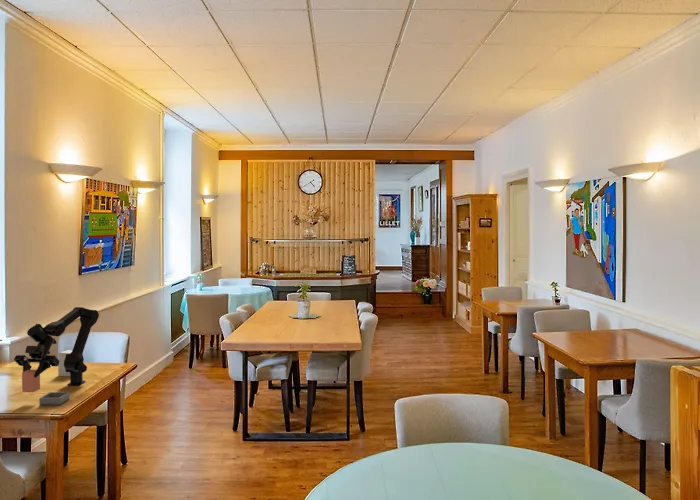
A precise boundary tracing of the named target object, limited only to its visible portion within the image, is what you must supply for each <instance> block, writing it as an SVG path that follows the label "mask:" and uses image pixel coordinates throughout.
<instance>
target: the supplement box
mask: <svg viewBox="0 0 700 500" xmlns="http://www.w3.org/2000/svg"><path fill="white" fill-rule="evenodd" d="M72 350H73V349H67V350H64V351H60V352H57V359H58V360H59V365H58V366H57V369H58V370H57V371H58V373H57V374H58V375H57V376H61V377H70V372H66V370H65V367H64V360H65V357H66V355H67V354H70V353H71V352H72Z"/></svg>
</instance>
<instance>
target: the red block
mask: <svg viewBox="0 0 700 500" xmlns="http://www.w3.org/2000/svg"><path fill="white" fill-rule="evenodd" d="M36 370H37V369H30V370H27V371H24V372H23V371H22V372H21V388H22V390H21V391H22V393H35V392H37V391H38V390H41V376H40V375H41V374H40V375H38V376H37V377H36V378H35V377H34V375H35V372H36Z"/></svg>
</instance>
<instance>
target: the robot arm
mask: <svg viewBox="0 0 700 500" xmlns="http://www.w3.org/2000/svg"><path fill="white" fill-rule="evenodd" d="M99 316H100V313H99V311H98V310H97V309H89V308H86V307H82V306H76V307H73V309H72V310H70V311H69V312H67V313H66V314H64V315H63V316H62V317H61V318H59V319H57V320H56V321H51V322H50V323H47V324H46V325H45V326H44V327H43V326H42V324H41V323H36V324H35V325H33V326H31V327H29V328H28V329H27V331H26V334H27V336H29V337H30V338H31V339H32V340H33V341H34V342H36V343H37V345H26V347H25V351H24V353H25V354H28V356H26V355H25V354H17V355H15V356H14V358H13V361H15V363H16V364H17V365H18V366H20V367H22V372H24V371H27V370H32V369H31V368H32V365H31V363H34V364H35V363H38V367H37V368H36V369H35V370H36V372H35V375H34V377H35V378H36V377H37V376H38V375H41V374H42V373H43V372H45V371H47V370H48V369H50V368H51V367H58V365H59V360H58V356H56V355H52V354H51V351H50V349H51V348H52V345H57V340H56V338H55V337H60V336H62V334H64V333H65V330H66V328H67V327H68V326H69V325H70V324H72V323H73V322H75V321H76V320H77V319H79V321H80V328H79V330H78V334H77V335H76V339H75V343H74V346H73V348H72V349H71V350H72V352H71V353H70V354H67V355H66V357H65V360H64V367H65V370H66V372H70V376H69V383H67V386H81V385H82V384H84V383H86V380H83V379H84V378H83V376H84V375H83V373H86V372H87V369H88V366H87V365H86V364H85V363H84V356H83V354H84V350H85V347H86V344H87V342H88V338H89V335H90V332H91V329H92V327H93V326H94V325H96V323H97V322H98V319H99V318H100V317H99ZM53 337H54V338H53ZM50 354H51V355H50Z"/></svg>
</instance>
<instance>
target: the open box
mask: <svg viewBox="0 0 700 500" xmlns="http://www.w3.org/2000/svg"><path fill="white" fill-rule="evenodd" d="M38 400H39V402H38V403H39V404H38V405H39V407H59V406H62V405H63V404H65V403H66V402H68V401H69V400H70V391H62V392H61V391H49V392H48V393H45V394H44V395H43V396H41V397H39V399H38Z"/></svg>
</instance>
